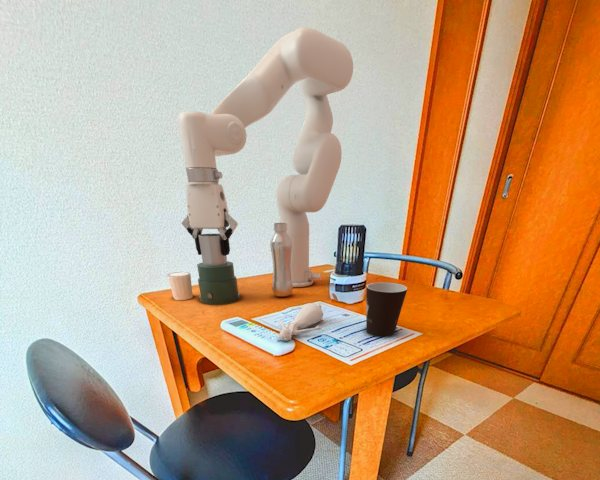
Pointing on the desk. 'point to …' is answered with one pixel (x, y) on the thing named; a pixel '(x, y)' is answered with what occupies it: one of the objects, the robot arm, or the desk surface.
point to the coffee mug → (383, 307)
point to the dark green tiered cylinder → (217, 284)
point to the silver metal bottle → (281, 261)
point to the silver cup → (212, 250)
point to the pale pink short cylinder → (180, 285)
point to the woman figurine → (302, 321)
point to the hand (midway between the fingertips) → (213, 253)
